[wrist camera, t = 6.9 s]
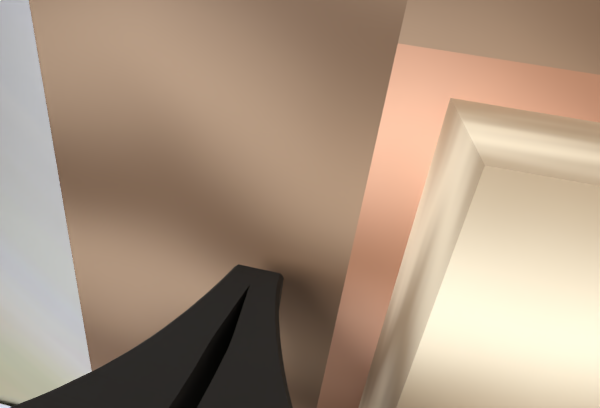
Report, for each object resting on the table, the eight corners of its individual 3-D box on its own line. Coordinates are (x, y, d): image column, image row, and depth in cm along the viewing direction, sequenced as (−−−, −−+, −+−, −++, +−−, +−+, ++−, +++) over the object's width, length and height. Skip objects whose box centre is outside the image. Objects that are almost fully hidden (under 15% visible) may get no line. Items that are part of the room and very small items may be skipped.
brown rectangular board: (709, 531, 16) (716, 543, 16) (100, 382, 18) (95, 389, 18) (1353, -9, 7) (1404, -8, 7) (13, -170, 9) (-2, -176, 9)
